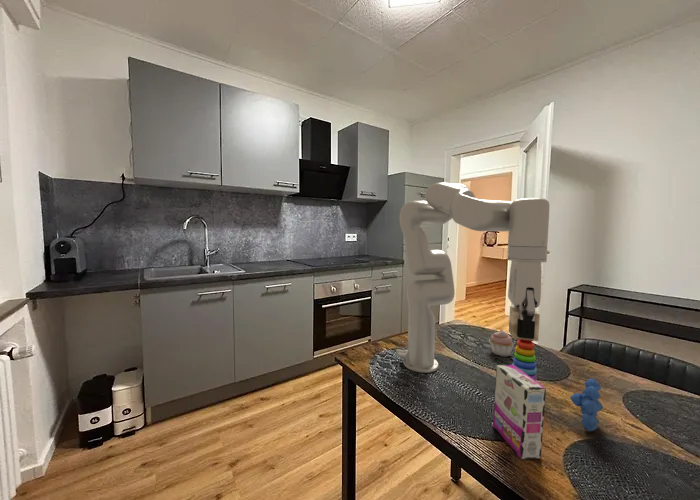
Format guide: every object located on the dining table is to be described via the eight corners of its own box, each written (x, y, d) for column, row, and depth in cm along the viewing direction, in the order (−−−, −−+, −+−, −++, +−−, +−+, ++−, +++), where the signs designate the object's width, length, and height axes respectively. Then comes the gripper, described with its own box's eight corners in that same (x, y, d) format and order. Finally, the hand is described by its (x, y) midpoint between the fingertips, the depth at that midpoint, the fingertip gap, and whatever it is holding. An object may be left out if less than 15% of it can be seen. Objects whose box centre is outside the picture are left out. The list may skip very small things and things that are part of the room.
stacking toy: (541, 390, 90) (545, 332, 89) (513, 387, 92) (517, 330, 90) (531, 377, 98) (534, 324, 97) (505, 375, 100) (508, 322, 98)
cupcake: (492, 346, 124) (493, 323, 123) (516, 353, 117) (518, 329, 116) (484, 353, 117) (485, 329, 116) (509, 361, 110) (511, 335, 110)
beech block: (512, 338, 65) (513, 311, 64) (508, 330, 69) (509, 306, 69) (538, 341, 63) (539, 314, 63) (532, 333, 68) (534, 308, 67)
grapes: (570, 408, 82) (573, 367, 81) (601, 418, 77) (605, 375, 76) (566, 429, 73) (569, 384, 72) (601, 442, 69) (605, 394, 68)
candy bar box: (542, 459, 64) (547, 388, 62) (521, 460, 63) (525, 389, 62) (510, 424, 75) (514, 363, 73) (492, 425, 74) (495, 364, 73)
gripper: (502, 251, 74) (499, 320, 75) (514, 257, 58) (510, 344, 60) (536, 252, 72) (533, 324, 73) (558, 258, 56) (553, 350, 57)
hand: (522, 332), depth 66 cm, fingers closed on beech block, 4 cm apart
